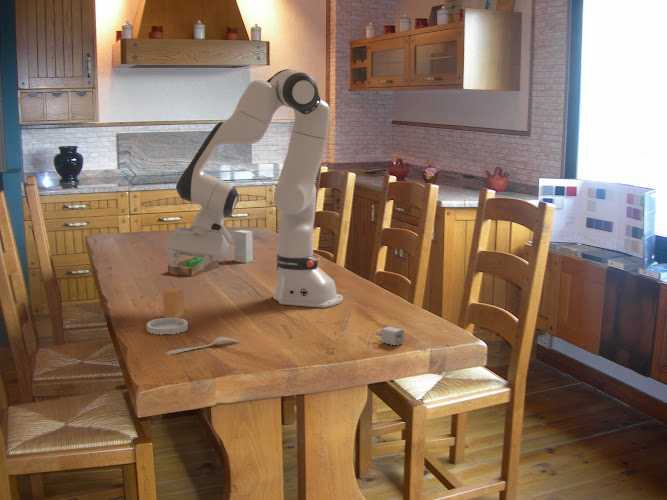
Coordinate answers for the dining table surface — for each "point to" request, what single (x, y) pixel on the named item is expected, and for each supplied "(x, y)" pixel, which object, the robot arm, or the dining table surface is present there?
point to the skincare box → (243, 246)
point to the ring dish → (167, 326)
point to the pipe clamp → (194, 262)
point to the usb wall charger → (391, 335)
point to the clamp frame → (190, 268)
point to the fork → (201, 346)
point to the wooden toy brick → (173, 302)
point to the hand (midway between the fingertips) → (185, 266)
